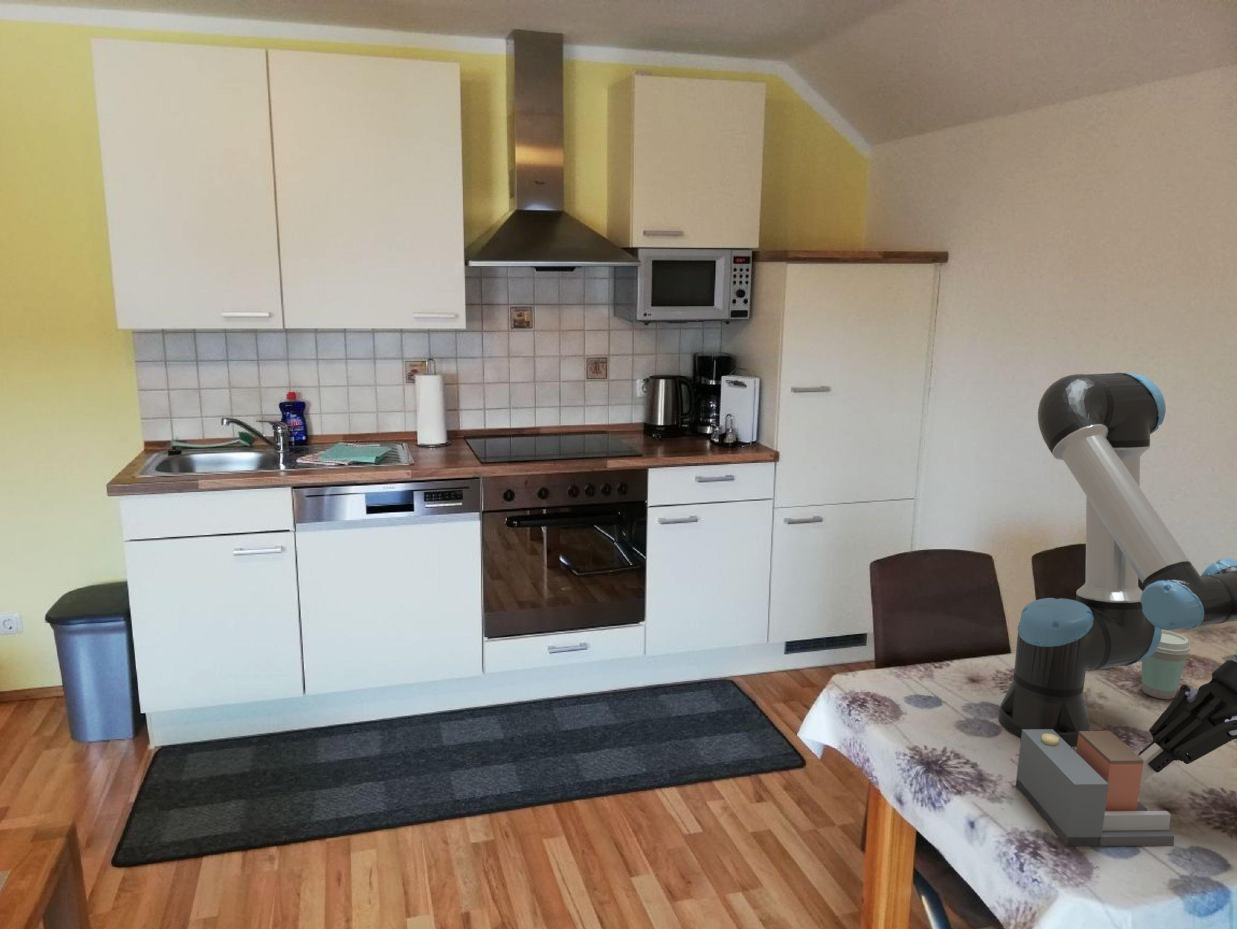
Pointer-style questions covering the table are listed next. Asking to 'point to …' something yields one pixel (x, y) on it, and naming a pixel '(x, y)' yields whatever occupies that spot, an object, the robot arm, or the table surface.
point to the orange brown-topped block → (1113, 767)
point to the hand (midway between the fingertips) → (1129, 778)
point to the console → (1080, 797)
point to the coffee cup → (1165, 666)
